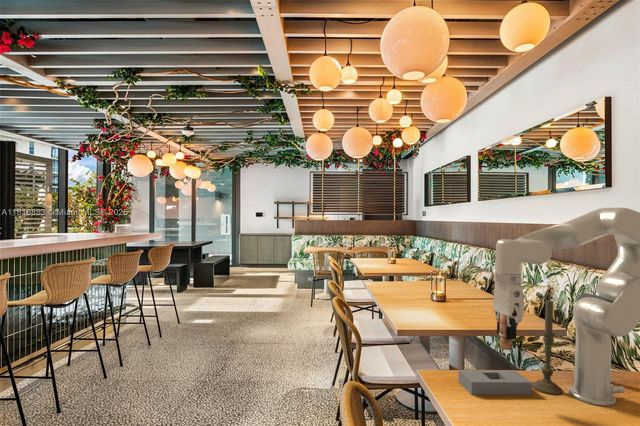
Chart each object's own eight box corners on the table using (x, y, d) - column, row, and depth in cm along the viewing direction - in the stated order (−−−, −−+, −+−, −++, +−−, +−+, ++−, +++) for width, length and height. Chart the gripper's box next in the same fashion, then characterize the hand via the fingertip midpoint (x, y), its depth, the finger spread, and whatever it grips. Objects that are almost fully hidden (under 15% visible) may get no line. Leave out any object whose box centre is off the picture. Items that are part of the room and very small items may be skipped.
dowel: (508, 345, 129) (509, 308, 129) (516, 350, 125) (517, 311, 125) (496, 346, 129) (497, 308, 129) (503, 350, 124) (504, 311, 124)
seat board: (514, 381, 139) (514, 370, 139) (531, 394, 129) (532, 382, 129) (458, 381, 137) (458, 369, 137) (471, 394, 127) (471, 382, 127)
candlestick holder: (550, 396, 128) (553, 302, 128) (525, 385, 136) (528, 296, 136) (569, 392, 132) (572, 301, 132) (543, 381, 140) (546, 295, 140)
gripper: (536, 283, 119) (534, 345, 119) (504, 274, 136) (502, 329, 135) (512, 283, 118) (510, 345, 118) (483, 274, 135) (481, 329, 135)
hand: (506, 336), depth 127 cm, fingers closed on dowel, 4 cm apart
